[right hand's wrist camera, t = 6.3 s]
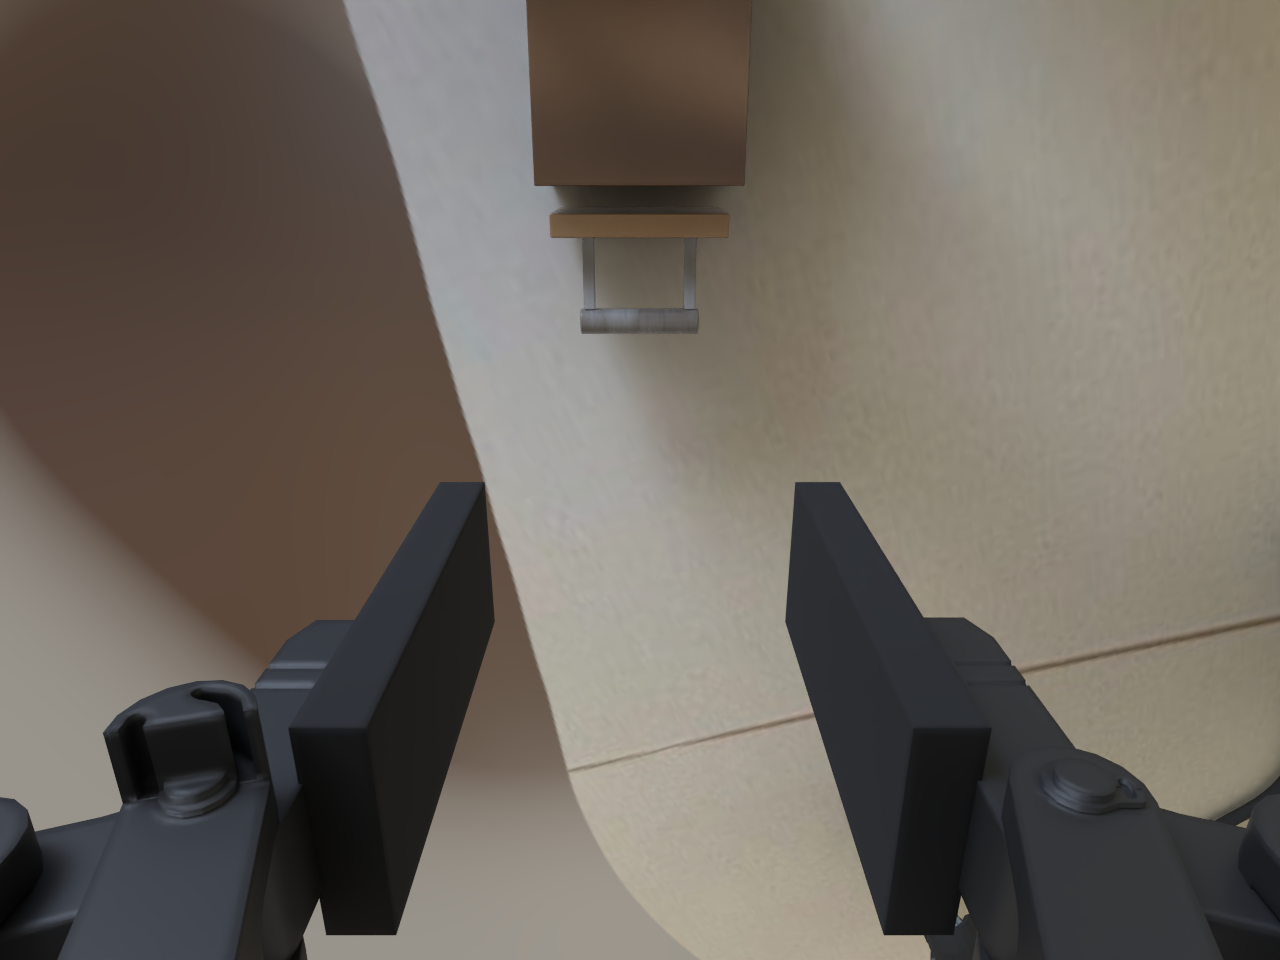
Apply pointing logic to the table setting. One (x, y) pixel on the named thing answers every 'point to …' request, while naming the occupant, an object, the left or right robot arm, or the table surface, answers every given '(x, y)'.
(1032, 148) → the table surface
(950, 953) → the robot
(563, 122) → the cabinet
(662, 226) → the drawer
